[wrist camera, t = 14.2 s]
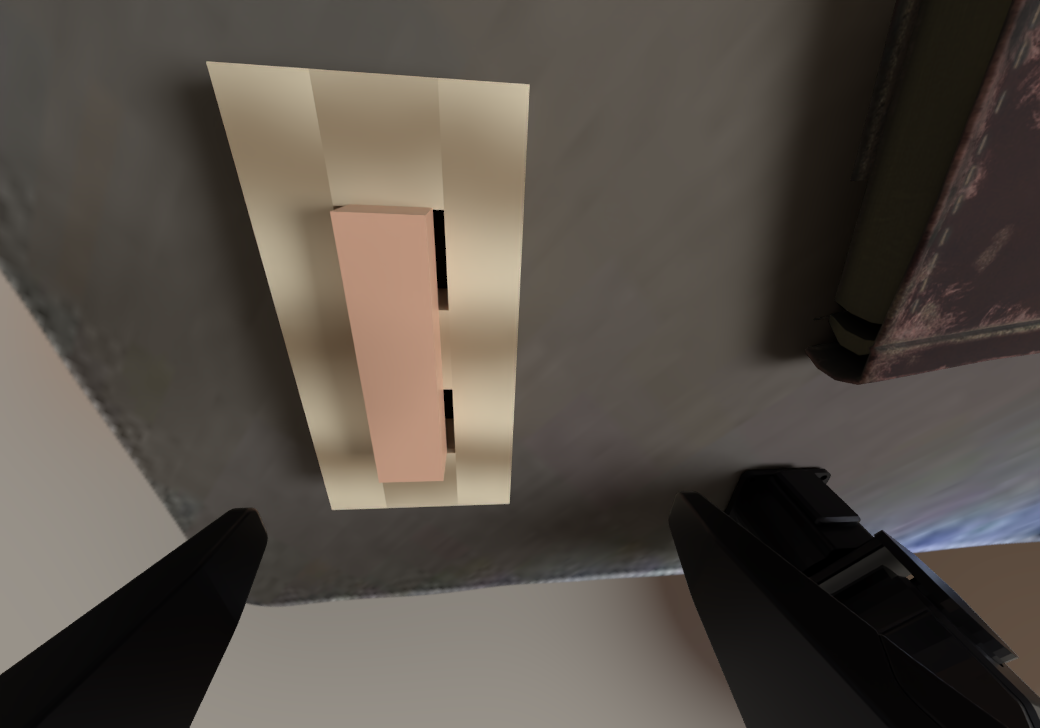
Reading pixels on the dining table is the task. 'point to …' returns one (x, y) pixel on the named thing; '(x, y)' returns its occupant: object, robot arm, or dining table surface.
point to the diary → (945, 197)
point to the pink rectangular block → (396, 334)
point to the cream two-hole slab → (388, 182)
